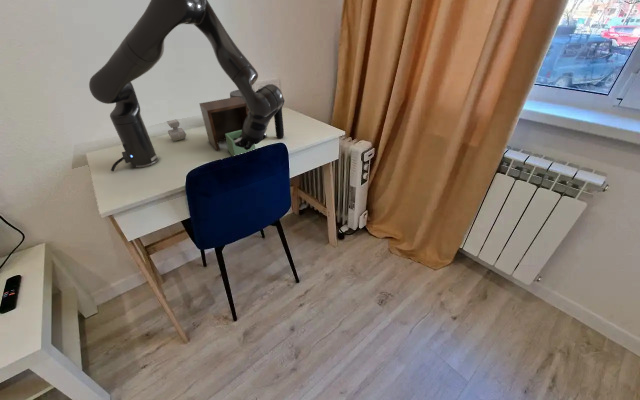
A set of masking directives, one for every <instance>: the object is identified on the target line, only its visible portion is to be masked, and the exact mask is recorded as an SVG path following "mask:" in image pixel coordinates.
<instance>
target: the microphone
mask: <svg viewBox="0 0 640 400" xmlns="http://www.w3.org/2000/svg"><path fill="white" fill-rule="evenodd" d="M284 105H285V98H284V97H283V103H282V106H281V107H280V109H279V110H278V111H277V113H276V114H275V115H274V116H273V119H274V128H275V135H276V138H277V139H279V140H281V139H283V138H284V136H285V131H284V120H283V106H284Z"/></svg>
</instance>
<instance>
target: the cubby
mask: <svg viewBox="0 0 640 400" xmlns="http://www.w3.org/2000/svg"><path fill="white" fill-rule="evenodd" d="M199 108H200V111H201V112H200V113H201V116H202V119H203V123H204V127H205V131H206V135H207V138H208V142H209V144H211V146H212V147H213V148H214V149H215V150H216V152H219V151H220V150H221V149H220V146H219V142H218V141H223V140H226V137H225V134H226V133H230V132H234V131H239V130H242V128H243V124H244V121H245V119H246V117H247V115H248V112H249V109H248V107H247V105H246V103H245V101H244V100H243V99H241V98H240V97H233V98H230V97H227V98H222V99H217V100H216V99H215V100H211V101H210V100H209V101H206V102H200V103H199Z"/></svg>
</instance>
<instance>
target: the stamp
mask: <svg viewBox="0 0 640 400" xmlns="http://www.w3.org/2000/svg"><path fill="white" fill-rule="evenodd" d="M166 123H167V125H168V126H169V127H170V128H171V129H168V130H167V134H168V136H169V137H170V139H171V140H173V142H176V141H180V140H183V139H186V136H187V133H186V131H185V130H184V129H183V127H180V125H181V123H180V122H179V120H178V119H171V120H167V121H166Z"/></svg>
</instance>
